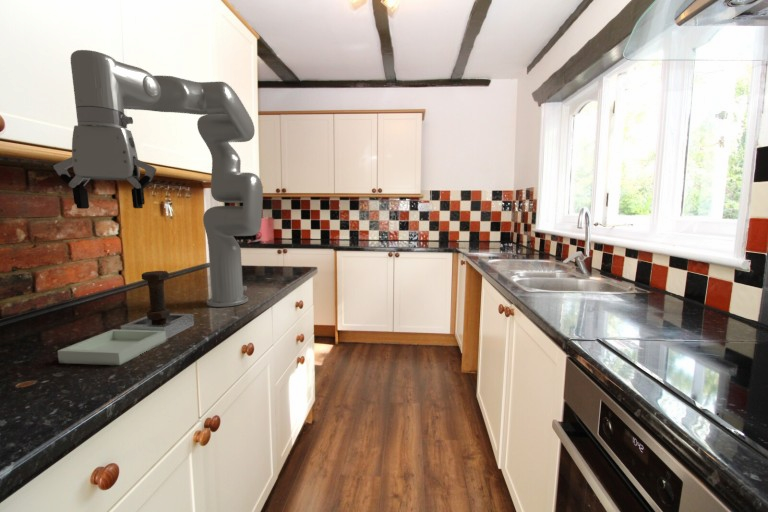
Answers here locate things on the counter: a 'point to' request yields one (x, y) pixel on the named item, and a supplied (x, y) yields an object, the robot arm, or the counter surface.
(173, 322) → the grey notched slab
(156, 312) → the bolt
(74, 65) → the robot arm
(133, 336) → the tray
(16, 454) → the counter surface
